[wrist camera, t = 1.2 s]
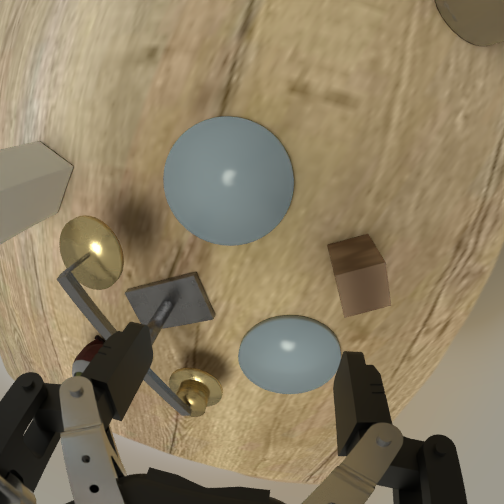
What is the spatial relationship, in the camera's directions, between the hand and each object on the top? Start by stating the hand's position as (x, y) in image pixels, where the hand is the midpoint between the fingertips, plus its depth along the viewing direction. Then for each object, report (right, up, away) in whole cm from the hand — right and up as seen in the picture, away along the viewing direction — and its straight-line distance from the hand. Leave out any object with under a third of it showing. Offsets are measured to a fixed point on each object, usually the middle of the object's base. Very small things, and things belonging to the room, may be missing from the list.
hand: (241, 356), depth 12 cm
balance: (-10, -2, +25) cm, 27 cm away
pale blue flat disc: (-2, +11, +19) cm, 22 cm away
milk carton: (-26, +14, +21) cm, 36 cm away
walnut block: (+11, +4, +20) cm, 23 cm away
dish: (+5, -9, +26) cm, 28 cm away
